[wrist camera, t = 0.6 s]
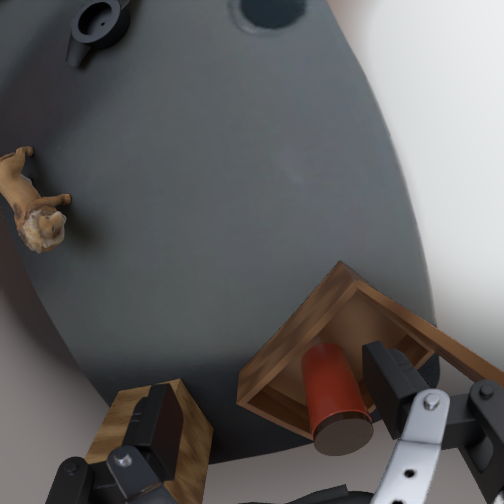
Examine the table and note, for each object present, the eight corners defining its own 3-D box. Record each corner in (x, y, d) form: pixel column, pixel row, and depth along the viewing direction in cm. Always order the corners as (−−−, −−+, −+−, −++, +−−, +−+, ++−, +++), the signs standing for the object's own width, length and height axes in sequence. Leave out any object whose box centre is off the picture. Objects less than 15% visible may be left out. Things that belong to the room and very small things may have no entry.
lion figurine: (101, 208, 32) (55, 228, 23) (79, 245, 33) (34, 273, 24) (22, 135, 29) (-30, 137, 20) (5, 172, 30) (-45, 182, 22)
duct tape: (64, 24, 25) (51, 17, 22) (139, -17, 24) (131, -29, 21) (75, 74, 27) (61, 70, 24) (156, 32, 26) (147, 22, 23)
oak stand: (213, 428, 40) (199, 524, 25) (155, 437, 42) (128, 521, 26) (180, 378, 38) (147, 480, 22) (118, 391, 39) (74, 477, 24)
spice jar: (333, 384, 36) (354, 459, 25) (292, 374, 36) (302, 452, 25) (355, 349, 35) (386, 421, 23) (312, 337, 34) (332, 413, 23)
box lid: (554, 447, 11) (587, 396, 10) (508, 396, 9) (560, 307, 8) (437, 353, 29) (460, 320, 29) (353, 285, 27) (382, 245, 26)
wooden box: (321, 415, 39) (327, 446, 34) (239, 371, 37) (236, 403, 31) (417, 324, 35) (437, 349, 29) (340, 259, 33) (354, 280, 27)
